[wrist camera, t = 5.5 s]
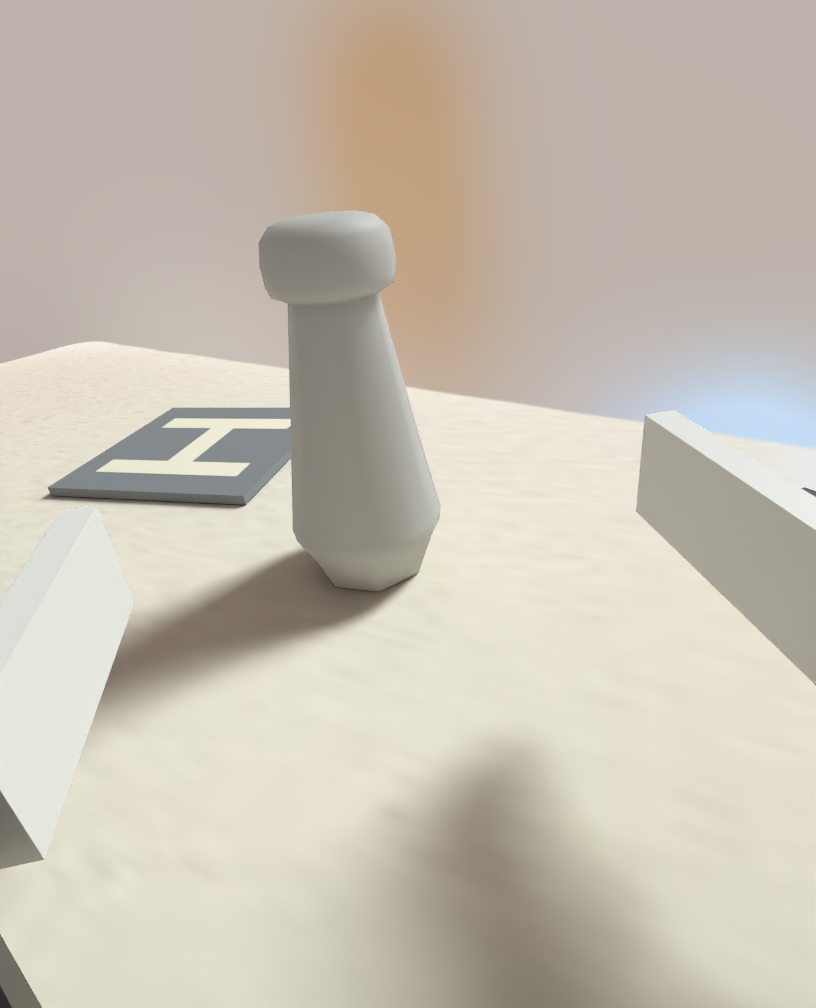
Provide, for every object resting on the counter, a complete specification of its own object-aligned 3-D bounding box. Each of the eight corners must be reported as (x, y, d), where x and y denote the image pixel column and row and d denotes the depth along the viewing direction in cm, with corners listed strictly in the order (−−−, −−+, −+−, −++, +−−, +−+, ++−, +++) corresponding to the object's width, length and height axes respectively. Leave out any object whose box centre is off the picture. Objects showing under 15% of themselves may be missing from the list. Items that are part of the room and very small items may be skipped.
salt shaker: (303, 536, 28) (236, 218, 22) (429, 515, 28) (399, 199, 22) (304, 618, 23) (216, 233, 16) (457, 591, 23) (428, 208, 17)
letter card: (51, 496, 34) (47, 487, 34) (175, 414, 44) (172, 407, 44) (246, 505, 31) (243, 495, 31) (331, 415, 41) (330, 407, 41)
